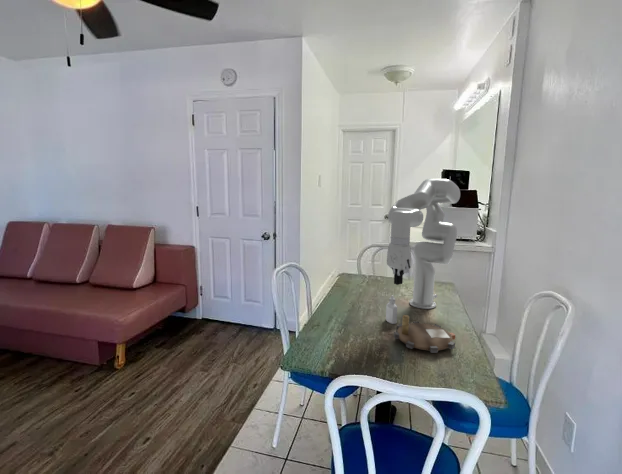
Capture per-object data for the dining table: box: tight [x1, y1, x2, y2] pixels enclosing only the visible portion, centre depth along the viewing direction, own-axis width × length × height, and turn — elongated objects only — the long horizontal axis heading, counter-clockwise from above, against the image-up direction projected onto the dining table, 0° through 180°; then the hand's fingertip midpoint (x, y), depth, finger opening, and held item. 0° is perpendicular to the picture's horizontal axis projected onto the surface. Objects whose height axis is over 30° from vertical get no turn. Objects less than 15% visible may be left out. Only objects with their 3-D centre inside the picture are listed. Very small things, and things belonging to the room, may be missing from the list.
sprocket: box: [393, 314, 456, 354], centre depth 134 cm, size 23×23×9 cm
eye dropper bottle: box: [385, 294, 398, 325], centre depth 153 cm, size 4×6×12 cm
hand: (398, 283), depth 147 cm, fingers closed
